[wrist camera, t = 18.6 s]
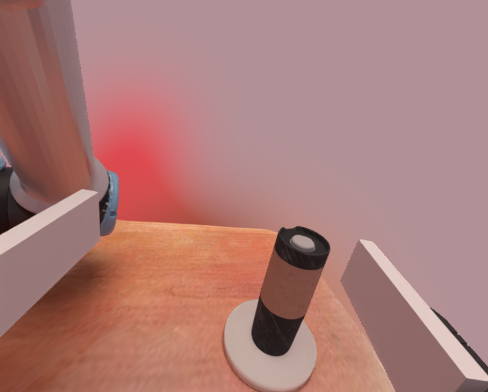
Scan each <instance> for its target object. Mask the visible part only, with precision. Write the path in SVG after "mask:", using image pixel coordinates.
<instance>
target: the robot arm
mask: <svg viewBox="0 0 488 392" xmlns="http://www.w3.org/2000/svg"><path fill="white" fill-rule="evenodd" d="M0 149H1V150H2V152H3V154H4V155H5V157H6V159H7V160H8V162H9V164H10V165H11V167H6V162H5V161H4V159H3V158H2V157H1V156H0V337H1V336H2V335H4V334H5V333H6V332H7V331H8V330H9V329H10V328H11V327H12V326H13V325H14V324H15V323H16V322H17V321H18V320H19V319H20V318H21V317H22V316H23V315H24V314H25V313H26V312H27V311H28V310H29V309H30V308H31V307H32V306H33V305H34V304H35V303H36V302H37V301H38V300H39V299H40V298H41V297H42V296H43V295H44V294H46V293H47V292H48V291H49V290H50V289H51V288H52V287H53V286H54V285H55V284H56V283H57V282H58V281H59V280H60V279H61V278H62V277H63V276H64V275H65V274H66V273H67V272H68V271H69V270H70V269H71V268H72V267H73V266H74V265H75V264H76V263H77V262H78V261H79V260H80V259H81V258H82V257H83V256H84V255H85V254H86V253H88V252H89V251H90V250H91V249H92V248H93V247H94V246H95V245H96V244H97V243H98V242H99V241H100V236H107V235H109V234H110V233H112V231H113V230H114V227H115V223H116V218H117V213H116V212H117V208H118V199H119V179H118V175H117V174H116V173H115V172H110V171H108V170H106V169H105V168H104V166H103V165H102V164H101V163H100V162H99V161H98V160H97V159H96V158H95V157H94V154H93V147H92V140H91V134H90V128H89V121H88V114H87V107H86V100H85V94H84V87H83V80H82V74H81V67H80V60H79V54H78V48H77V41H76V33H75V27H74V20H73V14H72V7H71V1H70V0H0ZM341 283H342V285H343V287H344V289H345V291H346V293H347V295H348V297H349V299H350V301H351V303H352V305H353V307H354V309H355V311H356V313H357V315H358V317H359V318H360V321H361V323H362V325H363V327H364V329H365V331H366V333H367V335H368V337H369V339H370V341H371V343H372V345H373V347H374V349H375V351H376V353H377V355H378V357H379V359H380V361H381V363H382V365H383V367H384V369H385V371H386V373H387V375H388V377H389V379H390V381H391V383H392V385H393V387H394V389H395V391H396V392H488V367H487V365H486V364H485V363H484V362H483V361H482V360H481V359H480V357H479V356H478V355H477V354H476V353H475V352H474V351H473V350H472V349H471V347H470V346H467V343H466V342H465V341H464V339H463V338H462V337H461V336H460V335H458V334H457V332H456V330H455V329H454V328H453V327H452V326H451V325H450V324H449V323H448V321H447V320H446V319H445V318H443V317H442V316H441V315H440V314H438V313H437V312H436V311H435V310H433V309H432V308H429V307H428V305H427V304H426V303H425V302H424V301H423V300H422V298H421V297H420V296H419V295H418V294H417V293H416V292H415V290H414V289H413V288H412V287H411V286H410V284H409V283H408V282H407V281H406V280H405V279H404V277H403V276H402V275H401V274H400V273H399V272H398V271H397V269H396V268H395V267H394V266H393V265H392V264H391V262H390V261H389V260H388V259H387V258H386V257H385V255H384V254H383V253H382V252H381V251H380V250H379V248H378V247H377V246H376V245H375V244H374V243H373V242H371V241H365V240H360V239H359V240H358V242H357V244H356V246H355V249H354V251H353V253H352V256H351V258H350V260H349V262H348V265H347V267H346V269H345V272H344V274H343V276H342V278H341Z"/></svg>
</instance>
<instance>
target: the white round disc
mask: <svg viewBox="0 0 488 392" xmlns="http://www.w3.org/2000/svg"><path fill="white" fill-rule="evenodd" d="M258 300H259V299H254V300H249V301H246V302H243V303H241V304H240V305H238V306H237V307H236V308H235V309H233V311H232V312H231V313H230V315H229V317H228V319H227V321H226V326H225V330H224V334H223V347H224V352H225V355H226V358H227V361H228V363H229V365H230V366H231V368H232V369H233V371H234V372H235V373H236V375H237V376H238V377H239V378H240V379H241V380H242V381H243V382H244V383H246V384H247V385H248V386H250V387H252V388H253V389H255V390H257V391H260V392H296V391H297V390H299V389H300V388H301V387H303V386H304V385H305V383H306V382H307V381H308V379H309V377H310V375H311V373H312V371H313V369H314V367H315V363H316V357H317V350H316V344H315V340H314V338H313V335H312V333H311V331H310V329H309V328H308V326H307V325H306V323H305V322H304V321H302V323H301V325H300V328H299V330H298V332H297V334H296V337H295V339H294V341H293V343H292V345H291V347H290V349H289V351H288V352H287V353H286V354H284V355H282V356H270V355H267V354H265V353H263V352H262V351H261V350H259V349H258V348H257V346H256V345H255V344H254V342H253V339H252V335H251V330H252V324H253V320H254V316H255V312H256V308H257V304H258Z"/></svg>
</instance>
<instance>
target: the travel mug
mask: <svg viewBox="0 0 488 392" xmlns="http://www.w3.org/2000/svg"><path fill="white" fill-rule="evenodd" d="M329 252H330V245H329V243H328V241H327V240H326V239H325V238H324V237H323V236H321V235H320V234H318V233H317V232H315V231H313V230H310V229H308V228H305V227H300V226H296V227H295V228H292V229H285V228H284V227H282V228H281V229H280V230H279V233H278V235H277V239H276V242H275V245H274V249H273V252H272V255H271V259H270V262H269V265H268V269H267V272H266V275H265V278H264V282H263V285H262V288H261V292H260V296H259V300H258V304H257V308H256V312H255V316H254V320H253V324H252V330H251V335H252V339H253V342H254V344H255V345H256V346H257V348H258V349H259V350H261V351H262V352H263V353H265V354H267V355H270V356H282V355H284V354H286V353H287V352H288V351H289V349H290V347H291V345H292V343H293V341H294V339H295V337H296V334H297V332H298V330H299V328H300V325H301V323H302V321H303V319H304V317H305V314H306V312H307V310H308V307H309V304H310V302H311V299H312V297H313V294H314V291H315V289H316V286H317V284H318V281H319V278H320V276H321V273H322V270H323V268H324V265H325V262H326V260H327V257H328V255H329Z"/></svg>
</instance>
